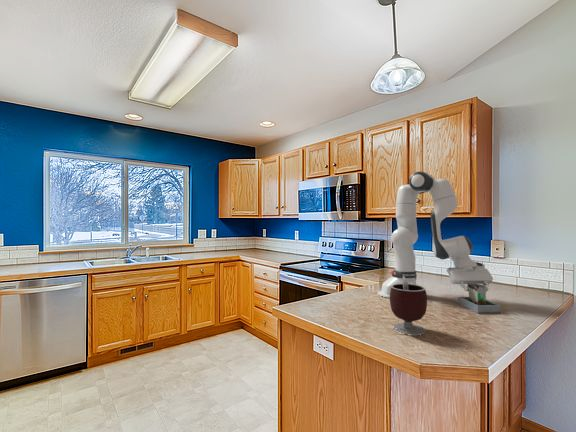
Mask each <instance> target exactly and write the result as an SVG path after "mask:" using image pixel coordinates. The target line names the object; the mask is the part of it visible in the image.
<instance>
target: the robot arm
mask: <svg viewBox="0 0 576 432" xmlns="http://www.w3.org/2000/svg"><path fill="white" fill-rule="evenodd" d="M408 183H409V184H402V185H400V186H399V187H398V189H397V193H396V194H397V195H396V201H395V219H396V225H397V229H395V230H394V231H393V232H392V233H391V235H390V240H391V243H392V247H393V252H394V263H395V264H394V270H392V269H390V270H389V274H390V275H391V276H390V277H389V278H388V279H386V280H385V281H383V282H382V285H381V290H380V289H379V290H378V291H377V294H378V295H379V296H380V297H382V296H383V298H385V297H386V299H390V290H391V285H394V284H403V276H404V277H405V278H406V280H407V282H408V284H413V285H417V279H418V278H417V270H416V255H415V252H414V251H415V250H414V244H415V243H416V242H417V241H418V239H419V234H418V225H417V224H418V223H417V198H418V196H419V195H421V194H424V193H427V192H428V193H429V194H430V195H431V198H432V201H433V207H434V208H433V210H432V211H431V212H430V227H431V237H432V251H433V254H434V256H435V258H438V259H439V260H443V261H444V260H447V259H450V260H451V261H452V262H453V266H454V267H448V268H447V269H446V272H447V274H448V277H449V279H450V283H451V284H453V285H459V286H460V287H461V288H463V290H464V291H465V292H468V291H469V287H468V286H467V284H480V285H484V286H485V287H486V289H487V292H488V291H489V288H488V285H490V284H491V283H492V282H493V281H494V279H493V276H492V274H491V272H490V271H489V269H487V268H485V267H486V266H485V264H484V263H482V262H478V261H474V260H472V259H471V257H470V255H471V254H472V252H473V250H474V247H473V244H472V241H471V239H470V238H469V237H467V236H465V235H459V236H455V237H451V238H446V239H442V234H441V223H442V221H443V220H444V219H446V218H448V217H449V216H450V215H452V214H453V213H454V212H455V211H456V210H457V208H458V199H457V196H456V192H455V191H454V188H453V186H452V185H451V183H450V181H449V180H448V179H446V178H438V179H435V178H434V177H433V175H431V174H429V172H425V171H415V172H414V173H412V174H411V175H410V177H409V180H408Z"/></svg>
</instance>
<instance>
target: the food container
mask: <svg viewBox="0 0 576 432" xmlns="http://www.w3.org/2000/svg"><path fill="white" fill-rule="evenodd" d="M466 286H468V287H469V291H467V292H468V297H469V300H470V302H472V303H474V304H476V305H486V300H487V299H486V298H487V292H488V291H487V289H486V287H485V286H484V285H483V284H466Z"/></svg>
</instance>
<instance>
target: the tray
mask: <svg viewBox="0 0 576 432" xmlns="http://www.w3.org/2000/svg"><path fill="white" fill-rule="evenodd" d="M457 304H458V305H461V306H462V307H464V308H466V309H468V310H470V311H472V312H475V313H476V314H501V305H499V304H497V303H495V302H492V301H490V300H487V299H486V305H476V304H474V303H472V302H470V300H469V296H457Z"/></svg>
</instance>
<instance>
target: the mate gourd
mask: <svg viewBox="0 0 576 432" xmlns="http://www.w3.org/2000/svg"><path fill="white" fill-rule="evenodd" d="M427 295H428V294H427V291H426V287H425V286H423V285H418V284H416V285H413V284H408V282H407V280H406V278H405V277H404V276H403V284H394V285H391V290H390V298H389V305H390V309H391V312H392V313H393V315H394V316H395V317H396V318H398V319H400V320H402V321H404V322H401V323H399V322H398V323H395V324H393V325H392V326H394V328H393V329H394V330H395V328H397V329H396V331H398V332H401V333H404V334H411V335H420V334H423V335H425V334H426V329H425V328H424V327H422V326H421V325H417V324H415V323H414V324H413V322H416V321H419V320H421V319H423V317H424V316H425V315H426V314H427V307H428V297H427ZM393 329H392V330H393ZM424 333H425V334H424ZM420 336H421V335H420Z"/></svg>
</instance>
